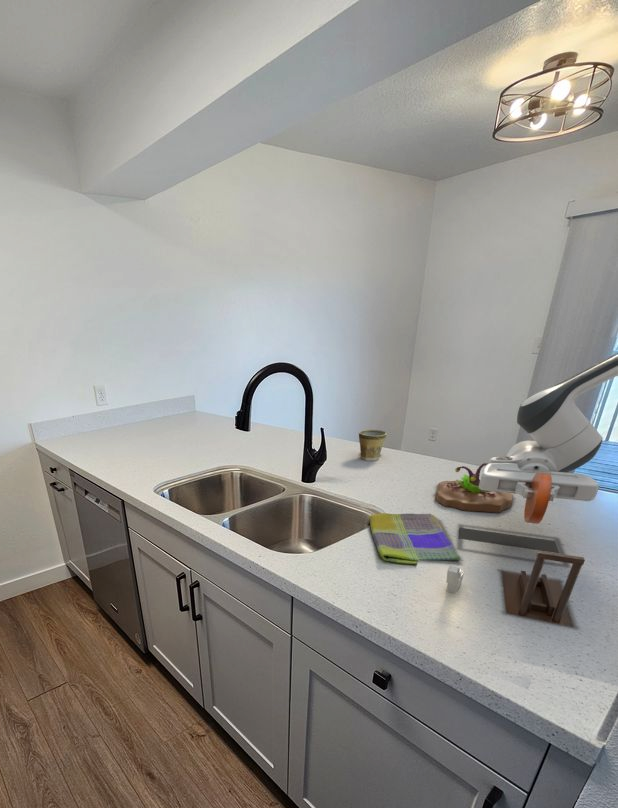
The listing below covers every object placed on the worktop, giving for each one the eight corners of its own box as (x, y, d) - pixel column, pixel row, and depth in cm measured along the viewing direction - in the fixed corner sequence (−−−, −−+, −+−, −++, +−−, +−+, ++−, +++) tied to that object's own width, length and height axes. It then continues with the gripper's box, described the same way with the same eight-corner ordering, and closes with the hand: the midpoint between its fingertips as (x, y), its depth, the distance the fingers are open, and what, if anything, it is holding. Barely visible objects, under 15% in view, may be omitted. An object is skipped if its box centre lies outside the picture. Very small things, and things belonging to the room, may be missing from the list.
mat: (554, 542, 103) (555, 540, 103) (564, 571, 92) (565, 568, 92) (459, 529, 112) (459, 527, 111) (458, 554, 101) (458, 551, 100)
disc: (533, 512, 93) (547, 467, 88) (539, 531, 85) (554, 483, 80) (522, 511, 94) (535, 466, 89) (527, 530, 86) (541, 482, 81)
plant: (512, 517, 116) (524, 477, 111) (432, 506, 125) (439, 469, 120) (510, 492, 131) (520, 456, 126) (439, 484, 140) (445, 450, 135)
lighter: (450, 586, 89) (458, 552, 86) (459, 589, 88) (468, 555, 85) (440, 602, 85) (448, 567, 81) (449, 606, 84) (458, 570, 80)
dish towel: (376, 563, 99) (378, 552, 98) (368, 519, 120) (369, 510, 119) (461, 568, 95) (463, 557, 94) (436, 522, 116) (438, 512, 115)
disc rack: (557, 586, 87) (580, 523, 81) (572, 633, 75) (600, 563, 69) (499, 575, 92) (517, 516, 85) (504, 618, 79) (525, 552, 73)
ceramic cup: (383, 462, 163) (386, 436, 158) (355, 461, 166) (357, 435, 162) (384, 453, 173) (387, 428, 169) (357, 452, 177) (360, 427, 172)
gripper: (585, 493, 94) (599, 518, 83) (476, 482, 102) (477, 504, 92) (595, 465, 91) (612, 487, 80) (482, 456, 100) (484, 475, 89)
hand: (538, 496), depth 86 cm, fingers closed on disc, 2 cm apart
